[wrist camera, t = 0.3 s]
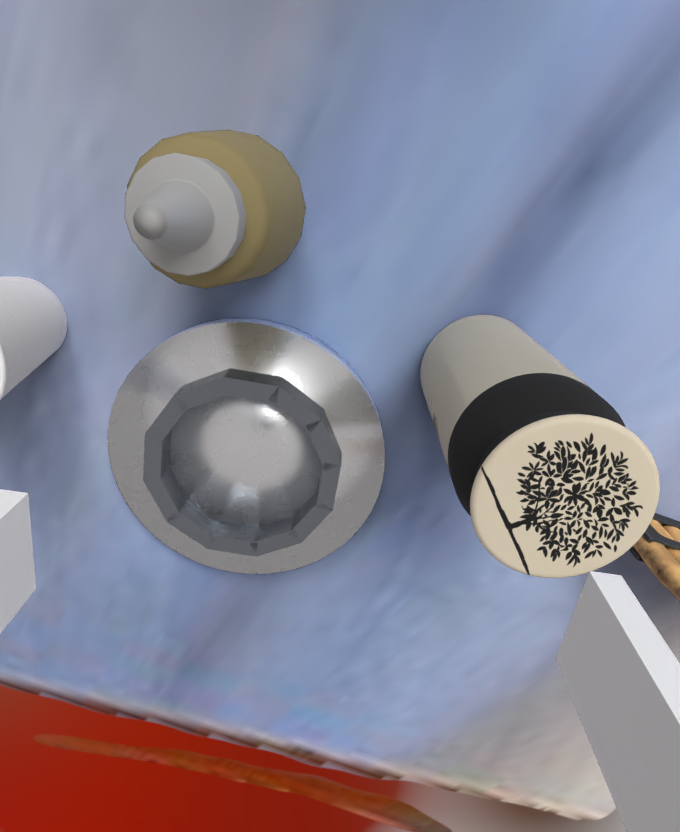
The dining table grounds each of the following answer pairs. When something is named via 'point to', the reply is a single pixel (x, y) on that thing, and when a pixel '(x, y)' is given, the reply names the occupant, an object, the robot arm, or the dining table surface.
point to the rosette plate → (247, 446)
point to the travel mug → (535, 451)
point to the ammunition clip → (661, 551)
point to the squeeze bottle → (214, 207)
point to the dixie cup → (27, 328)
